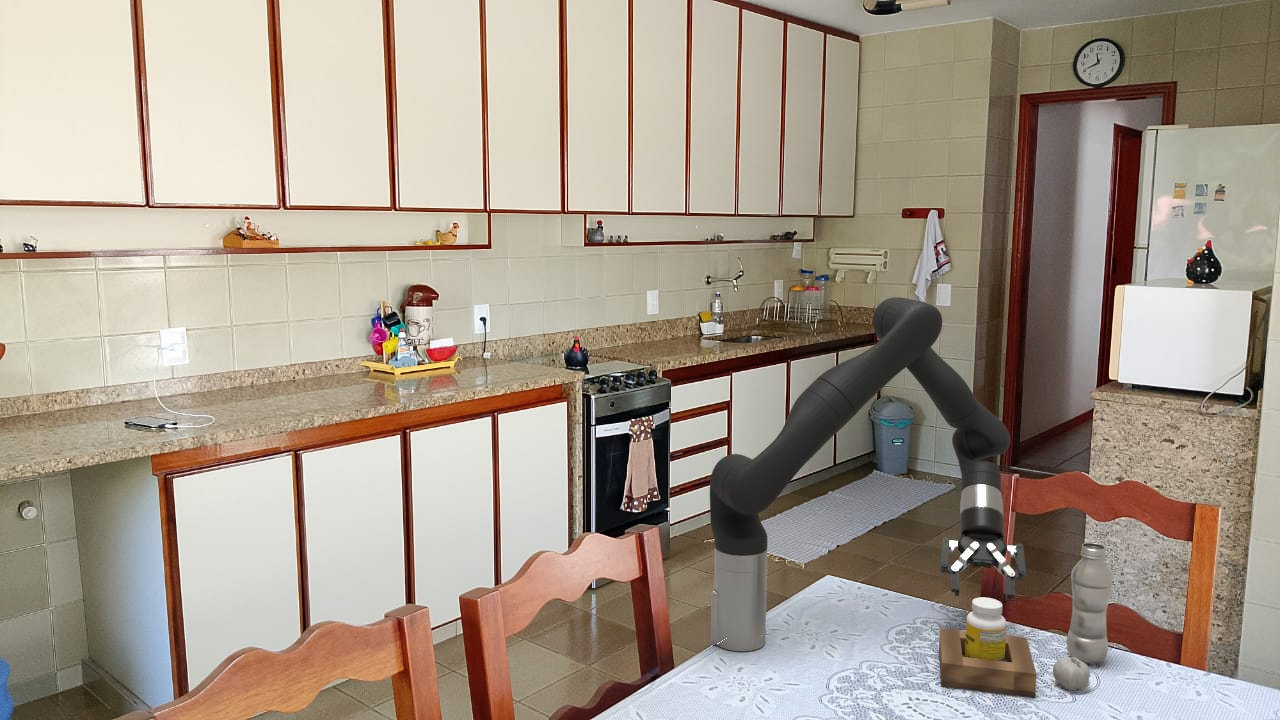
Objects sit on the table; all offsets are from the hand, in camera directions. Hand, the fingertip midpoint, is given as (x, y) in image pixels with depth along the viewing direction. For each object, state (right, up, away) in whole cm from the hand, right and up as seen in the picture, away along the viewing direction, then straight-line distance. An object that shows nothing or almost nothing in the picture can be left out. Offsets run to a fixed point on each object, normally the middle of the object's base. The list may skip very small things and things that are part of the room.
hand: (982, 596), depth 167 cm
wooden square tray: (-3, -10, -10) cm, 14 cm away
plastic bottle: (+16, -10, -5) cm, 19 cm away
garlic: (+9, -11, -14) cm, 20 cm away
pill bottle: (-3, -9, -10) cm, 14 cm away
